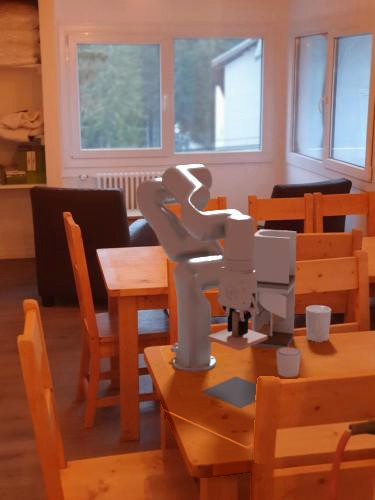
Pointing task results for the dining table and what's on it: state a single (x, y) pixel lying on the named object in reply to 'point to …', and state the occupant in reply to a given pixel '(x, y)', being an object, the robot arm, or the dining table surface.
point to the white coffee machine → (275, 286)
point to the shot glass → (288, 361)
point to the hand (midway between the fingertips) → (237, 331)
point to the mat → (234, 391)
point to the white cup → (318, 322)
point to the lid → (233, 338)
